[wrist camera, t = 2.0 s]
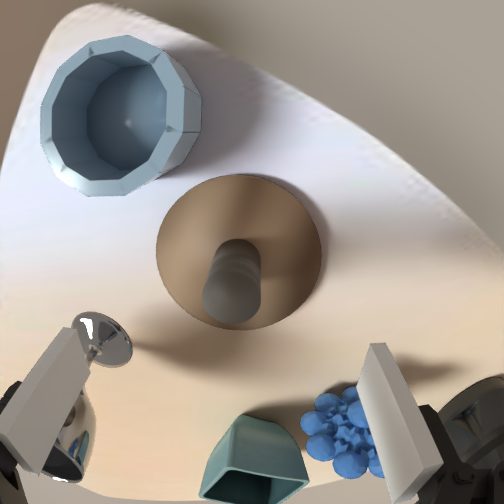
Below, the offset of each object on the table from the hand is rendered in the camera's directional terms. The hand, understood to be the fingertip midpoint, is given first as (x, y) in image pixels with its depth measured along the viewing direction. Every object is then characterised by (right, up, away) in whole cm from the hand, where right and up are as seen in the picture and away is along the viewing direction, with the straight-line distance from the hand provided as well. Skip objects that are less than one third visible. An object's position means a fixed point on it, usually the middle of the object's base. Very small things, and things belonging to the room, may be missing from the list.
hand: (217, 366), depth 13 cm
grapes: (+12, -9, +18) cm, 23 cm away
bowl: (-7, +15, +9) cm, 19 cm away
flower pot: (+1, -16, +21) cm, 26 cm away
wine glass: (-14, -4, +16) cm, 22 cm away
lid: (0, +5, +13) cm, 14 cm away
